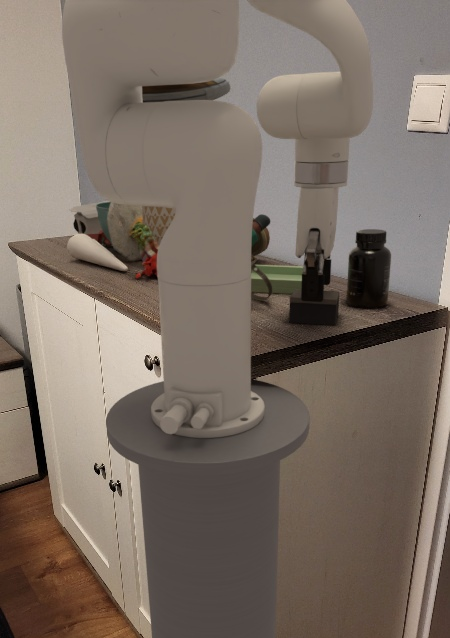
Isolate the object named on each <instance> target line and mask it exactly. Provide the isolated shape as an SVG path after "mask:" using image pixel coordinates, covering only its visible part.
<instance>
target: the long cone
mask: <svg viewBox="0 0 450 638" xmlns="http://www.w3.org/2000/svg"><path fill="white" fill-rule="evenodd" d="M66 249H67V252H68V254H69V255H70V256H71V257H72V258H74V259H77V260H81V261H85V262H88V263H92V264H95V265H98V266H103V267H105V268H110V269H113V270H116V271H120V272H121V271H122V272H128V270H129V268H128V266H127V265H126V264H125V263H124V262H122V261H121V260H120V259H118V258H117V256H115V255H114V254H113V253H112V252H111V251H110V250H108V249H107V248H106V247H105V246H104V245H101V244H100V243H98V242H97V241H96V240H95V239H92V238H90V237H89V236H88V235H86V234H78V233H76V234H74V235H73V236H71V237H70V238H69V239H68V241H67V244H66Z"/></svg>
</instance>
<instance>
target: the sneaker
mask: <svg viewBox="0 0 450 638" xmlns="http://www.w3.org/2000/svg"><path fill="white" fill-rule="evenodd" d="M230 92H231V84H230V82H229V81H228V80H227V79H225V78H223V77H220V78H217V79H215V80H212V81H207V82H201V83H192V84H176V85H157V86H142V100H143V103H148V102H165V101H185V100H215V101H216V100H217V99H220V98H222V97H224V96H225V95H227V94H229V93H230Z"/></svg>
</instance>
